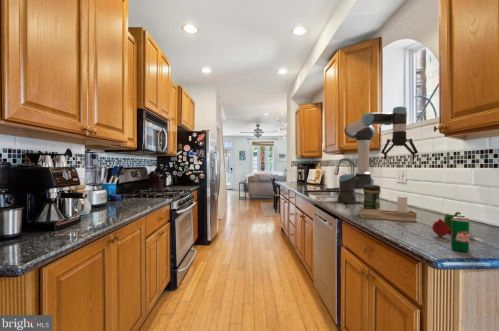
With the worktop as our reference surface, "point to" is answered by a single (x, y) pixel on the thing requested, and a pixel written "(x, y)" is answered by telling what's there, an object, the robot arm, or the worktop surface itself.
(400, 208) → the slider
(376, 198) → the coffee jar
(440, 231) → the onion
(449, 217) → the bell pepper
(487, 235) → the worktop surface
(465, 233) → the soda can
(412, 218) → the track
